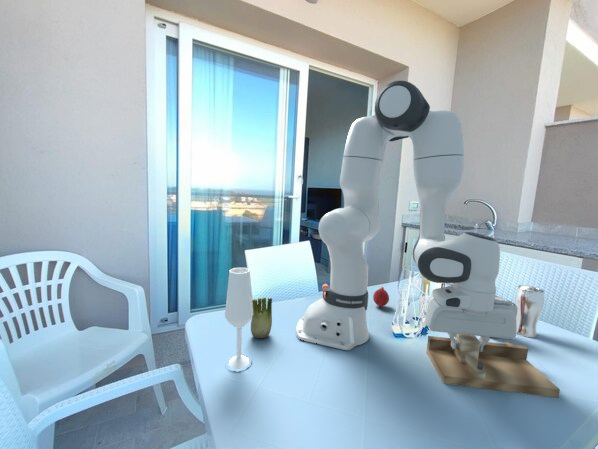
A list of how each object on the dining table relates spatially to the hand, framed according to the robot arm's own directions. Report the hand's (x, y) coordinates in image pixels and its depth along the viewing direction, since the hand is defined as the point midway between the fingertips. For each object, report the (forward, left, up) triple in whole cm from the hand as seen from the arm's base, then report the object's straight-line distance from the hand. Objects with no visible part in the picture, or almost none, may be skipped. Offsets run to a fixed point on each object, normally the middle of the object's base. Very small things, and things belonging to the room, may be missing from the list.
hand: (466, 349), depth 68 cm
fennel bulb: (-55, +3, -5) cm, 55 cm away
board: (+4, -2, -5) cm, 6 cm away
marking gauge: (0, -3, -3) cm, 4 cm away
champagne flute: (-57, -10, -5) cm, 58 cm away
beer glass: (+28, +22, -5) cm, 36 cm away
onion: (-16, +32, -5) cm, 36 cm away
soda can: (+16, +19, -5) cm, 25 cm away
